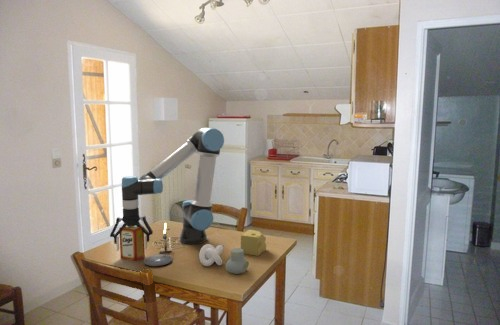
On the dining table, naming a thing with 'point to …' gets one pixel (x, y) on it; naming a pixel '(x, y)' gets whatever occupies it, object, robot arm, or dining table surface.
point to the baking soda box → (132, 243)
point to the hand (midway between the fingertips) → (132, 249)
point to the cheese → (253, 242)
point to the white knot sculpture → (210, 255)
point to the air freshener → (237, 262)
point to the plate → (158, 260)
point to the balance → (165, 241)
